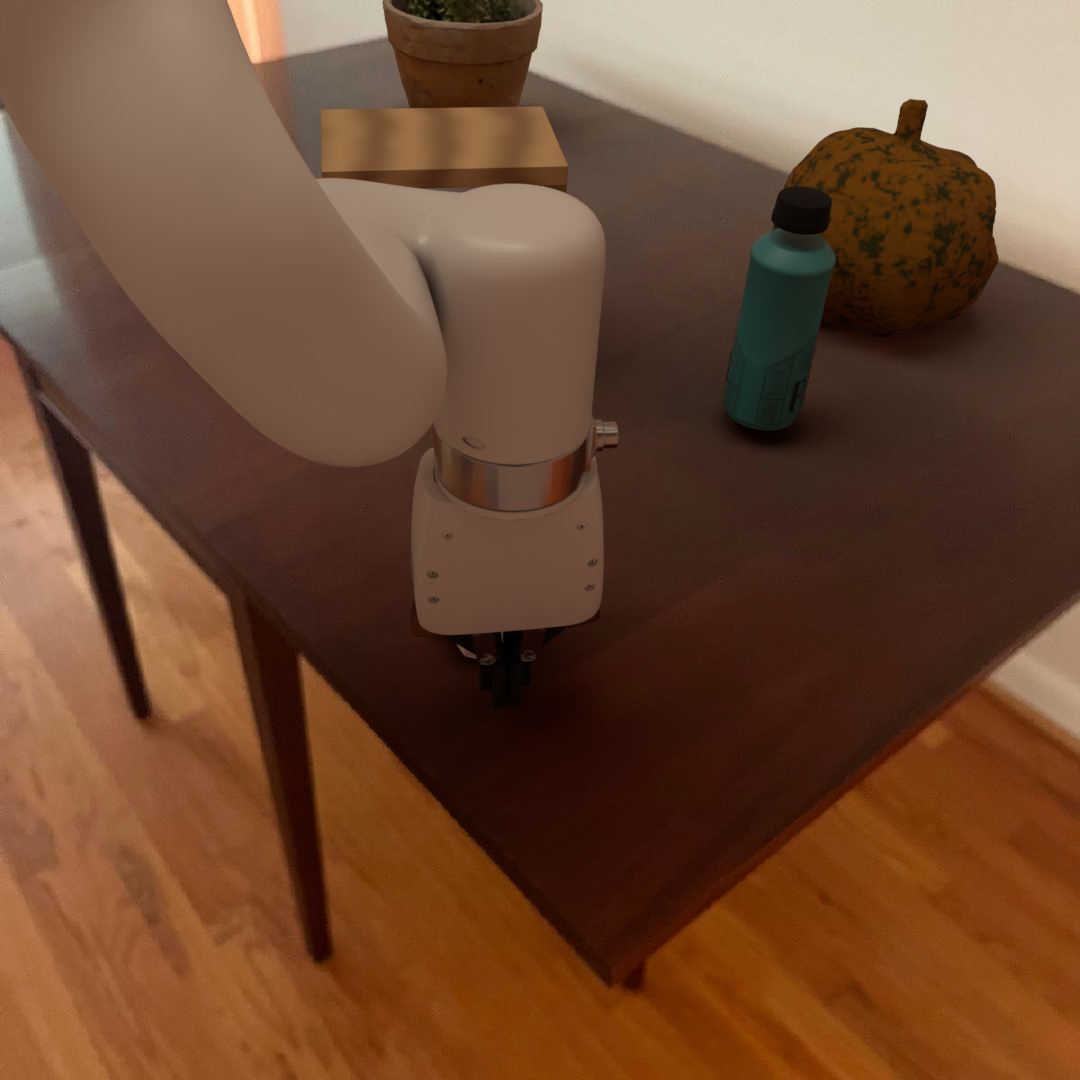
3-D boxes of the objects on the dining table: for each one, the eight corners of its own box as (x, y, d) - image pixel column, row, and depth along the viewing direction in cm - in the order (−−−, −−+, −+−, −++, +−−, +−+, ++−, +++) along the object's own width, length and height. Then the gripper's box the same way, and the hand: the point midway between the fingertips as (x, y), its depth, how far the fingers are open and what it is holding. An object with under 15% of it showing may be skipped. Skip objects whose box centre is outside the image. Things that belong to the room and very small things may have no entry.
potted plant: (370, 118, 134) (355, -108, 117) (503, 101, 140) (507, -115, 123) (419, 174, 122) (411, -68, 105) (563, 153, 128) (576, -78, 111)
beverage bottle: (788, 455, 85) (848, 221, 71) (708, 435, 86) (752, 203, 73) (802, 412, 89) (860, 185, 76) (726, 394, 91) (769, 168, 77)
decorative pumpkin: (791, 360, 94) (848, 129, 82) (740, 266, 110) (781, 63, 98) (1005, 368, 96) (1091, 144, 84) (923, 275, 112) (985, 77, 100)
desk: (343, 397, 88) (321, 171, 75) (341, 323, 97) (320, 109, 84) (554, 386, 91) (568, 165, 78) (533, 315, 99) (542, 106, 86)
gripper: (643, 396, 55) (611, 634, 67) (354, 411, 53) (376, 654, 65) (678, 487, 49) (637, 728, 62) (357, 508, 47) (381, 753, 60)
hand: (503, 690), depth 63 cm, fingers closed
